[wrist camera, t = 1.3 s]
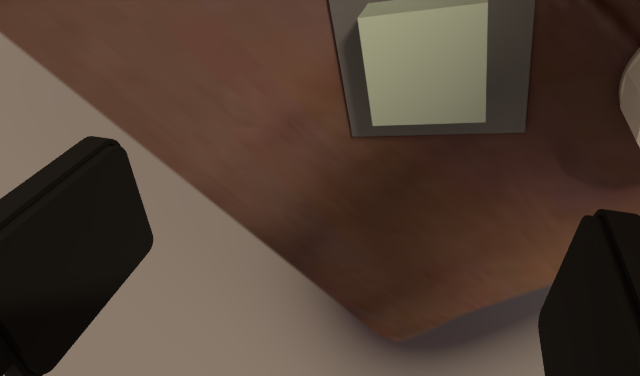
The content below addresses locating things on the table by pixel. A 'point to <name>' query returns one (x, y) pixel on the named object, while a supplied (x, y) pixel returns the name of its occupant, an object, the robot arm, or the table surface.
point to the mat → (501, 79)
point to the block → (425, 61)
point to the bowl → (631, 94)
